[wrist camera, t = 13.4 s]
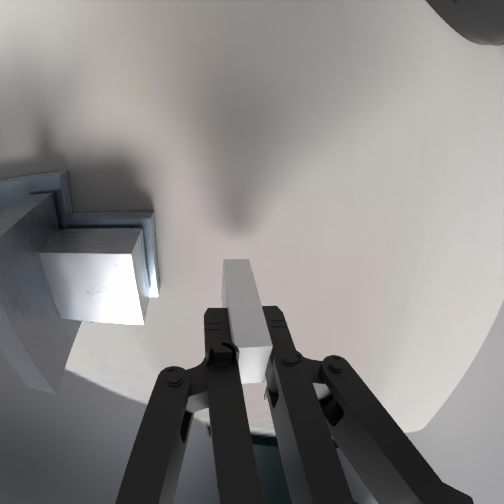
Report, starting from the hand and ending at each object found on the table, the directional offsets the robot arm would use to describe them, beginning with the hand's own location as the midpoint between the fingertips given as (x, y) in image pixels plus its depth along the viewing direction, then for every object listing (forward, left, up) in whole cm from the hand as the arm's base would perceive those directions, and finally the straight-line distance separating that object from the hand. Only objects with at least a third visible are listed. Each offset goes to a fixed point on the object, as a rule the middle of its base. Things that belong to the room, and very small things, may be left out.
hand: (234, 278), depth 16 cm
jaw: (0, -10, -2) cm, 10 cm away
